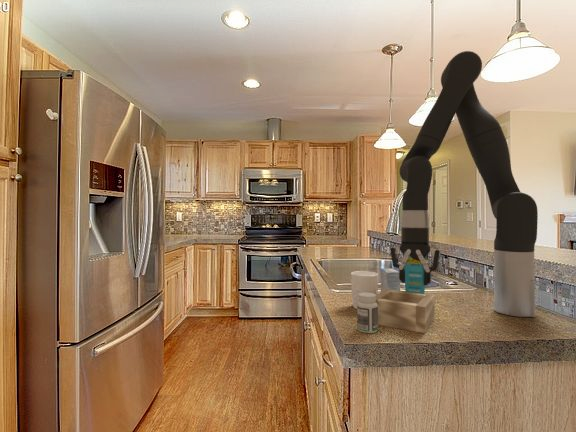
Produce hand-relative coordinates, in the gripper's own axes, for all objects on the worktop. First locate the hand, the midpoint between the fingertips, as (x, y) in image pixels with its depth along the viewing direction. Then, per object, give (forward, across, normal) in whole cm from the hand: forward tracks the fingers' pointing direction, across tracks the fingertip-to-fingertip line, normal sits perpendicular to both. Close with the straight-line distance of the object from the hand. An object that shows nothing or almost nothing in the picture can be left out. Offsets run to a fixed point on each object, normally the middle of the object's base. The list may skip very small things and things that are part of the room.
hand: (414, 283), depth 96 cm
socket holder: (+7, 0, +14) cm, 16 cm away
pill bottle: (+7, +5, +26) cm, 27 cm away
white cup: (+7, +12, +8) cm, 16 cm away
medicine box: (+7, +10, -10) cm, 16 cm away
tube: (+7, 0, 0) cm, 7 cm away
